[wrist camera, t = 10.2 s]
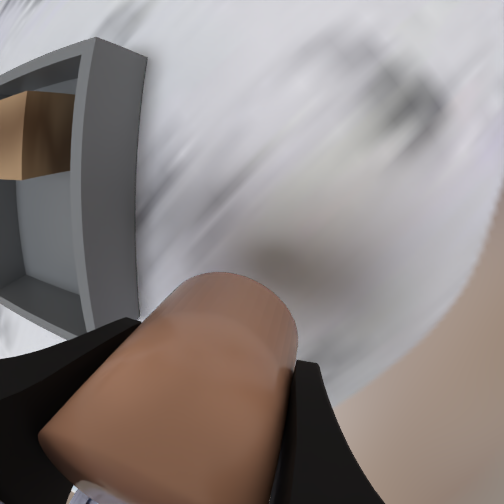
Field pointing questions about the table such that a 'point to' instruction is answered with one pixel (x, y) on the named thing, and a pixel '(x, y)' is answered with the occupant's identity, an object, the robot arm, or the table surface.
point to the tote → (77, 196)
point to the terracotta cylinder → (185, 402)
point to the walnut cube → (35, 134)
